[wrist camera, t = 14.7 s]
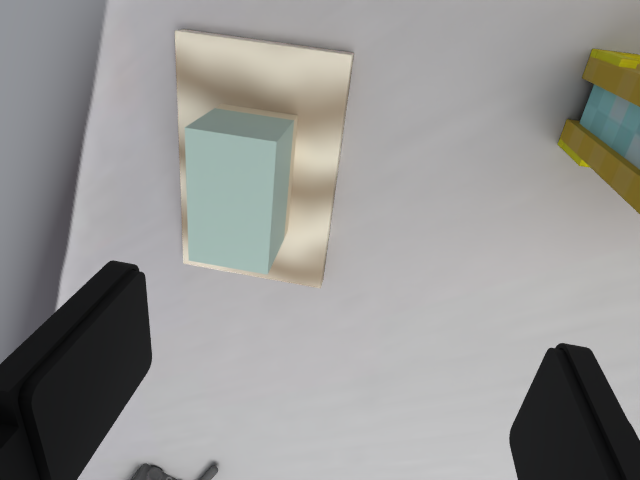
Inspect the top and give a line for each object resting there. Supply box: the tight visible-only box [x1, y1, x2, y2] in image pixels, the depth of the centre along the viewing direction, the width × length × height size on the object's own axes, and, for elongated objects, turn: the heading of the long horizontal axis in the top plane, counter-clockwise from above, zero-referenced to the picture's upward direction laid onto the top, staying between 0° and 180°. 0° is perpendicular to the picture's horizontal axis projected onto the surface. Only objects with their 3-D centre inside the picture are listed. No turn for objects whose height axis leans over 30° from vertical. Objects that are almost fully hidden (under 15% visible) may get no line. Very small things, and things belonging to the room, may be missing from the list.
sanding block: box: [185, 104, 298, 275], centre depth 35 cm, size 10×6×7 cm, turn 174°
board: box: [175, 29, 354, 288], centre depth 39 cm, size 20×13×2 cm, turn 174°
